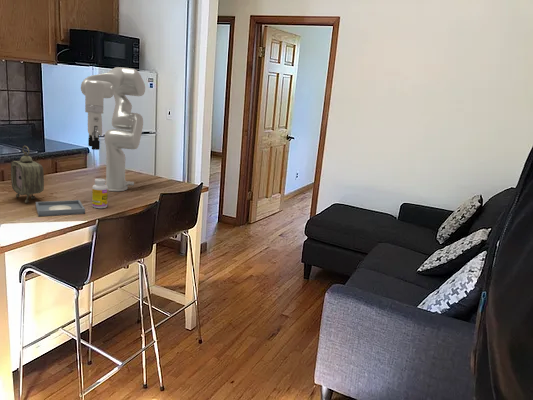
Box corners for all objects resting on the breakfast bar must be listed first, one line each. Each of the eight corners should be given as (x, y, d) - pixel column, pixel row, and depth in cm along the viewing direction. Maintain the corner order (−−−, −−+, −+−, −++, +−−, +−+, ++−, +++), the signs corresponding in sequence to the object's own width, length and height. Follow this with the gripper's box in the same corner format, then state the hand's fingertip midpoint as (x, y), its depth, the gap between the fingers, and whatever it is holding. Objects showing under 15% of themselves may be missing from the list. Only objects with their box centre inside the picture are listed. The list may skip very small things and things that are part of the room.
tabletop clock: (12, 196, 204) (9, 143, 198) (32, 194, 211) (30, 142, 204) (24, 204, 195) (22, 149, 189) (45, 202, 202) (44, 148, 195)
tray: (79, 204, 204) (79, 200, 203) (84, 213, 192) (84, 208, 192) (35, 206, 194) (35, 202, 194) (38, 216, 183) (38, 211, 182)
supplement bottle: (102, 209, 200) (102, 182, 197) (89, 207, 201) (89, 180, 198) (110, 206, 206) (110, 179, 203) (97, 203, 207) (97, 177, 204)
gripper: (106, 111, 190) (106, 151, 194) (99, 108, 204) (99, 145, 208) (88, 110, 186) (87, 150, 190) (82, 107, 201) (82, 144, 205)
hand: (93, 147), depth 199 cm, fingers open, 9 cm apart
